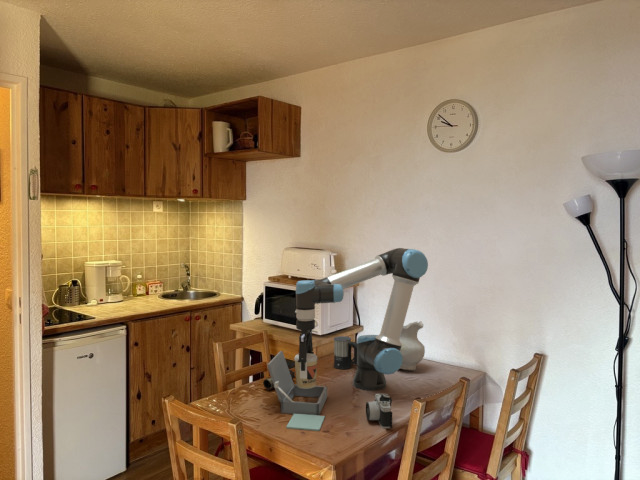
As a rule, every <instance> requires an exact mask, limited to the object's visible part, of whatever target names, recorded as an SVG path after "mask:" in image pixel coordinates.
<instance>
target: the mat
mask: <svg viewBox="0 0 640 480" xmlns="http://www.w3.org/2000/svg"><path fill="white" fill-rule="evenodd" d="M325 419H326V415H320V414H319V415H306V414H292V416H291V418H290V420H289V422H288V423H287V425H286V429H288V430H299V431H300V430H301V431H312V432H320V430H321V429H322V426H323V423H324V420H325Z"/></svg>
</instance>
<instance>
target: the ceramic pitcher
mask: <svg viewBox="0 0 640 480" xmlns="http://www.w3.org/2000/svg"><path fill="white" fill-rule="evenodd" d="M423 328H424V323H423V322H422V321H413V322H410V323H408V324H406V325H403V328H402V332H401V336H400V342H401V344H402V346H401V350H400V352H401V354H402V357H403V362H402V365H401V367H400V368H399V370H400V369H401V370H406V371H415V370H416V369H417V364H419V363H420V362H421V361H422V360H423V359H424V357H425V353H426V352H425V351H426V349H425V348H426V347H425V345H424V344H423V343H422V342H421V341H420V340H419V339H418V333H419V330H421V329H423Z"/></svg>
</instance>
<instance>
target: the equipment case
mask: <svg viewBox="0 0 640 480" xmlns="http://www.w3.org/2000/svg"><path fill="white" fill-rule="evenodd" d="M266 366H267V370H268V372H269V375H270V378H272V381H273V384H274V387H273V388H274V390H275V394H277V399H278V401H279V403H280V413H281V414H289V415H291V414H292V415H293V414H306V415H319V416H320V414H321V412H322V409H323V407H324V405H325V403H326V400H327V399H328V386H323V385H316V386H315V387H313V388H309V389H302V388H299V387H297V383H296V384H294V383H295V382H294V381H293V380H294V379H293V380H292V377H291V374H290V372H289V370H290V369H289V367H288V363H287V360H286V357H285V354H284V352H283V350H280V351H278V353H277V354H276V355H275V356H274V357H273V358H271V360H270V361H269V362H268V363H267V364H266ZM295 396H296V397H309V398H318V400H317V402H307V401H306V402H305V401H294V400H293V398H294V397H295Z"/></svg>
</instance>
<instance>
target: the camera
mask: <svg viewBox="0 0 640 480" xmlns="http://www.w3.org/2000/svg"><path fill="white" fill-rule="evenodd" d="M392 404H393V403H392V397H391V396H390V395H389V394H387V393H375V395H374V400H372V401H367V402H365V415H366V420H367V421H377V422H378V423H379V425H380V427H381V428H382V429H392V428H393V412H392V411H391V410H392Z"/></svg>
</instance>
